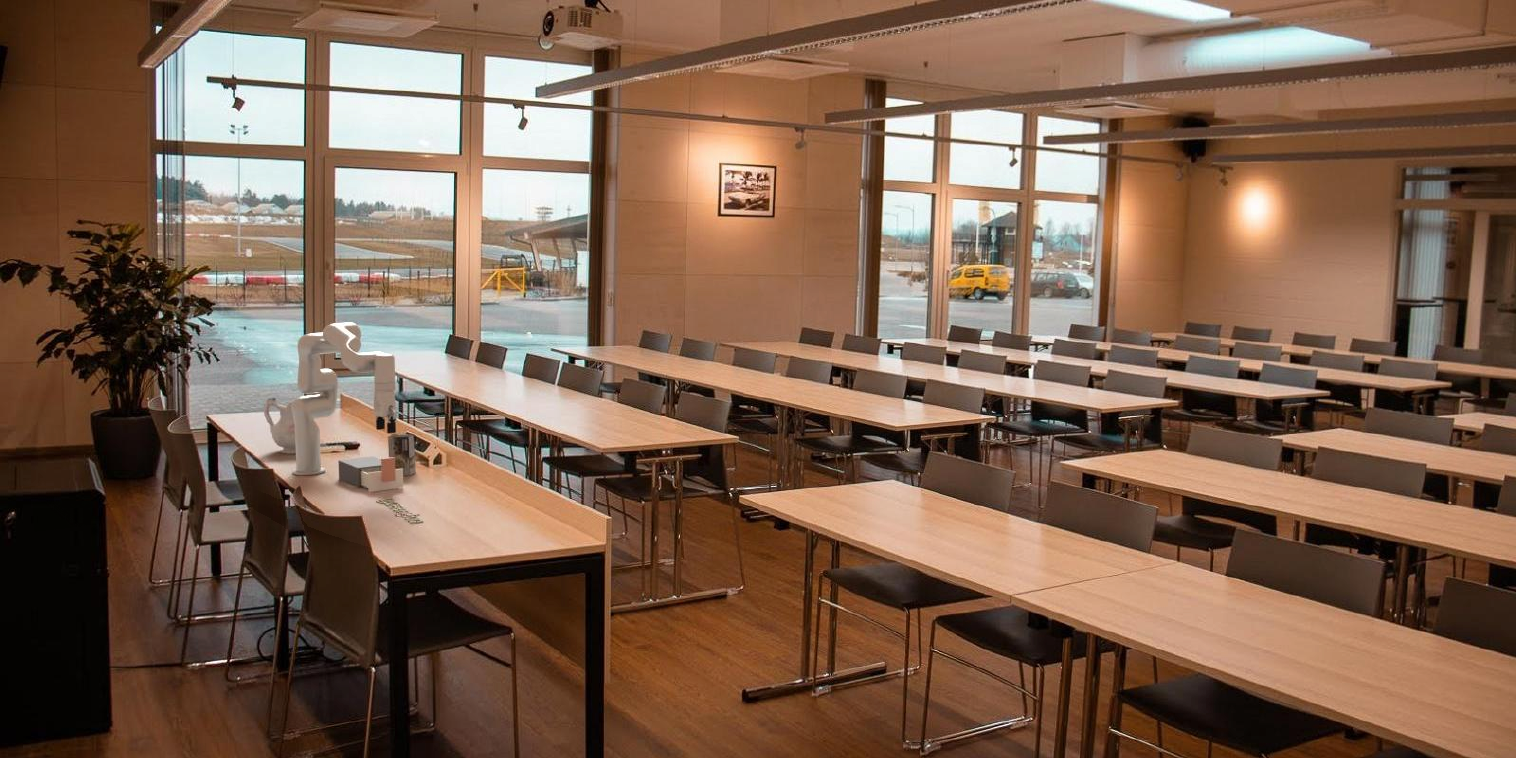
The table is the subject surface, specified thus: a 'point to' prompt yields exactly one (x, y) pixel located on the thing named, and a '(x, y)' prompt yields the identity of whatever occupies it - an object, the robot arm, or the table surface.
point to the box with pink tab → (382, 476)
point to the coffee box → (403, 452)
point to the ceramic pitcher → (282, 426)
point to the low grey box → (356, 469)
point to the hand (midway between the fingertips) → (386, 431)
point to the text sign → (393, 504)
